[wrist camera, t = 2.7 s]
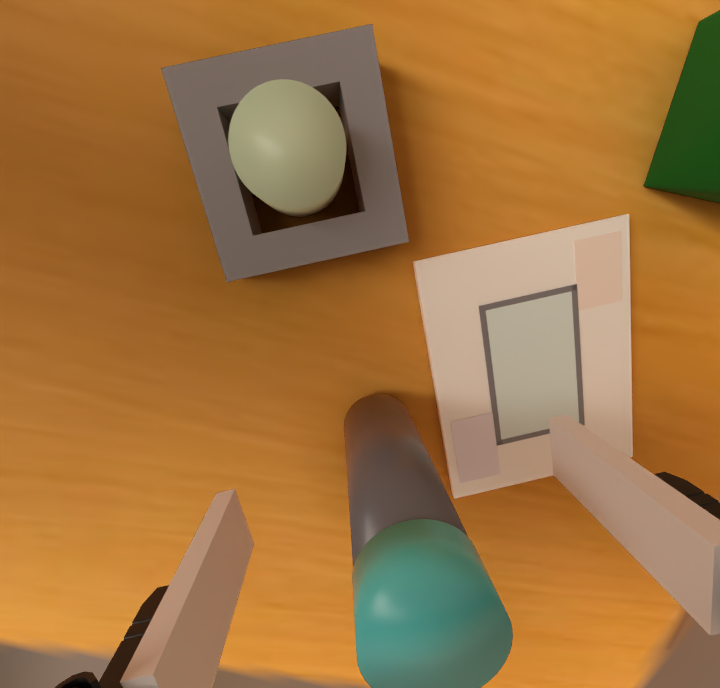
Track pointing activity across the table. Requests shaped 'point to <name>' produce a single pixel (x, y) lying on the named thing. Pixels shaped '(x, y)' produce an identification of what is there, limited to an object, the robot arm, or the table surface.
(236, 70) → the button housing
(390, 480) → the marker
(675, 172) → the milk carton
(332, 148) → the button cap
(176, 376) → the table surface
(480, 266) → the sheet
